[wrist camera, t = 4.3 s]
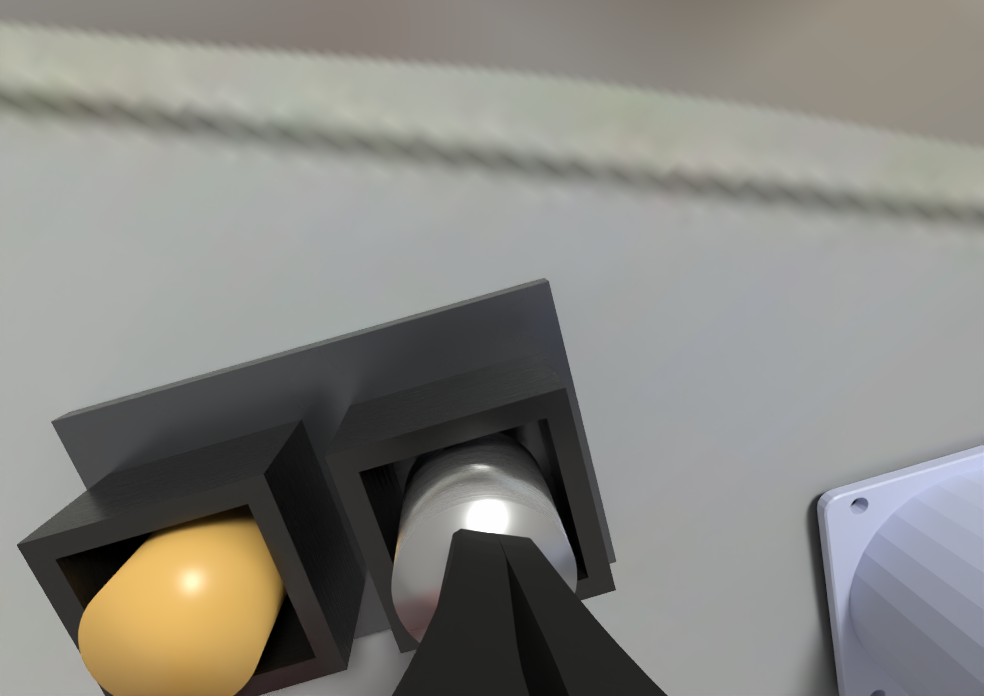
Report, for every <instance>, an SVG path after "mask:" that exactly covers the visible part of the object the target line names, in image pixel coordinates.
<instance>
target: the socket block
mask: <svg viewBox="0 0 984 696" xmlns="http://www.w3.org/2000/svg"><path fill="white" fill-rule="evenodd" d="M52 424H53V426H54V428H55V430H56V432H57V434H58V436H59V437H60V439H61V441H62V443H63V445H64V447H65V449H66V451H67V453H68V455H69V456H70V458H71V460H72V462H73V464H74V466H75V468H76V470H77V472H78V473H79V475H80V477H81V479H82V481H83V483H84V485H85V487H86V489H87V491H86V492H84V493H83V494H82V495H80V496H79V497H78V498H77V499H75V500H74V501H73V502H71V503H70V504H69V505H67V506H66V507H65V508H64V509H62V510H61V511H60V512H58V513H57V514H56V515H55V516H53V517H52V518H51V519H49V520H48V521H47V522H46V523H44V524H43V525H42V526H40V527H39V528H38V529H37V530H35V531H34V532H33V533H31V534H30V535H29V536H28V537H26V538H25V539H24V540H22V541H21V542H20V543H18V544H17V546H18V548H19V550H20V551H21V553H22V555H23V556H24V558H25V560H26V562H27V563H28V565H29V567H30V568H31V570H32V572H33V573H34V575H35V577H36V579H37V580H38V582H39V584H40V585H41V587H42V589H43V591H44V592H45V594H46V596H47V597H48V599H49V601H50V602H51V604H52V606H53V608H54V609H55V611H56V613H57V614H58V616H59V618H60V619H61V621H62V623H63V625H64V626H65V628H66V630H67V631H68V633H69V635H70V637H71V638H72V640H73V642H74V643H75V645H76V647H77V648H78V650H79V643H78V631H79V626H80V621H81V618H82V616H83V613H84V611H85V609H86V608H87V606H88V604H89V603H90V602H91V600H92V599H93V598H94V597H95V596H96V594H97V593H98V592H99V591H100V590H101V589H102V588H103V587H104V586H105V585H106V584H107V582H108V581H109V580H110V579H111V578H112V577H113V576H114V575H115V574H116V573H117V571H118V570H119V569H120V568H121V567H122V566H123V565H124V564H125V563H126V562H127V560H128V559H129V558H130V557H131V556H132V555H133V554H134V553H135V552H136V551H137V550H138V548H139V547H140V546H141V545H142V544H143V543H144V542H145V541H146V540H147V539H148V537H149V536H150V535H151V534H152V533H153V532H154V531H155V530H159V529H162V528H166V527H169V526H173V525H176V524H180V523H183V522H187V521H190V520H194V519H197V518H201V517H204V516H208V515H211V514H215V513H218V512H221V511H225V510H228V509H232V508H235V507H239V506H242V505H246V504H248V505H249V507H250V509H251V512H252V514H253V516H254V519H255V521H256V523H257V525H258V528H259V530H260V532H261V534H262V537H263V539H264V541H265V543H266V546H267V548H268V550H269V552H270V555H271V557H272V559H273V561H274V564H275V566H276V568H277V571H278V573H279V575H280V577H281V580H282V582H283V584H284V586H285V589H286V591H287V594H286V596H285V599H284V601H283V604H282V606H281V609H280V611H279V613H278V616H277V618H276V621H275V623H274V626H273V628H272V630H271V633H270V635H269V638H268V640H267V642H266V645H265V647H264V650H263V652H262V655H261V657H260V659H259V662H258V664H257V667H256V669H255V671H254V673H253V675H252V676H251V678H250V679H249V681H248V682H247V683H246V684H245V685H244V687H243V688H242V689H241V690H239V691H238V692H237V693H236V694H235V695H233V696H258V695H262V694H265V693H269V692H272V691H275V690H279V689H282V688H286V687H289V686H292V685H296V684H299V683H303V682H306V681H309V680H313V679H316V678H319V677H323V676H326V675H330V674H333V673H336V672H340V671H343V670H347V666H348V662H349V657H350V652H351V647H352V643H353V639H355V638H358V637H362V636H365V635H369V634H372V633H375V632H379V631H382V630H386V629H389V628H391V629H392V631H393V634H394V637H395V639H396V642H397V644H398V647H399V649H400V652H401V653H404V652H408V651H411V650H414V649H418V647H419V645H420V643H419V642H418V641H417V640H416V639H415V638H413V636H412V635H411V634H410V633H409V632H408V631H407V630H406V628H405V627H404V625H403V624H402V622H401V621H400V619H399V617H398V615H397V613H396V610H395V607H394V603H393V599H392V591H391V586H392V574H393V567H394V560H395V553H396V545H397V538H398V531H399V524H400V517H401V510H402V503H403V496H404V489H405V483H406V480H407V477H408V474H409V472H410V469H411V467H412V466H413V464H414V463H415V461H416V460H417V458H418V457H419V456H420V455H421V454H423V453H426V452H430V451H433V450H437V449H440V448H444V447H447V446H451V445H454V444H458V443H461V442H465V441H468V440H472V439H475V438H479V437H482V436H486V435H489V434H492V433H496V432H498V433H502V434H504V435H507V436H509V437H511V438H513V439H515V440H516V441H518V442H519V443H521V444H522V445H523V446H525V447H526V448H527V449H528V450H529V451H530V452H531V453H532V455H533V456H534V458H535V459H536V460H537V462H538V464H539V466H540V468H541V470H542V473H543V476H544V478H545V481H546V484H547V486H548V489H549V491H550V494H551V497H552V499H553V502H554V504H555V507H556V510H557V512H558V515H559V517H560V520H561V523H562V525H563V528H564V530H565V533H566V536H567V538H568V541H569V544H570V546H571V549H572V552H573V554H574V557H575V562H576V567H577V585H576V591H575V595H576V596H577V597H578V598H579V599H580V600H584V599H587V598H591V597H594V596H597V595H601V594H604V593H608V592H611V591H614V590H616V589H615V585H614V581H613V577H612V573H611V569H610V565H609V564H610V563H614V562H616V558H615V554H614V550H613V546H612V542H611V538H610V534H609V529H608V525H607V521H606V517H605V513H604V509H603V504H602V500H601V496H600V492H599V488H598V484H597V480H596V475H595V471H594V467H593V463H592V459H591V455H590V451H589V446H588V442H587V438H586V434H585V430H584V426H583V422H582V417H581V413H580V409H579V405H578V401H577V397H576V392H575V388H574V384H573V380H572V376H571V372H570V368H569V363H568V359H567V355H566V351H565V347H564V343H563V339H562V334H561V330H560V326H559V322H558V318H557V314H556V310H555V305H554V301H553V297H552V293H551V289H550V285H549V281H548V280H546V279H544V278H543V279H539V280H536V281H532V282H529V283H525V284H522V285H518V286H515V287H511V288H508V289H504V290H500V291H497V292H493V293H490V294H486V295H483V296H479V297H476V298H472V299H469V300H465V301H461V302H458V303H454V304H451V305H447V306H444V307H440V308H437V309H433V310H430V311H426V312H423V313H419V314H415V315H412V316H408V317H405V318H401V319H398V320H394V321H391V322H387V323H384V324H380V325H377V326H373V327H369V328H366V329H362V330H359V331H355V332H352V333H348V334H345V335H341V336H338V337H334V338H331V339H327V340H323V341H320V342H316V343H313V344H309V345H306V346H302V347H299V348H295V349H292V350H288V351H284V352H281V353H277V354H274V355H270V356H267V357H263V358H260V359H256V360H253V361H249V362H246V363H242V364H238V365H235V366H231V367H228V368H224V369H221V370H217V371H214V372H210V373H207V374H203V375H200V376H196V377H192V378H189V379H185V380H182V381H178V382H175V383H171V384H168V385H164V386H161V387H157V388H154V389H150V390H146V391H143V392H139V393H136V394H132V395H129V396H125V397H122V398H118V399H115V400H111V401H107V402H104V403H100V404H97V405H93V406H90V407H86V408H83V409H79V410H76V411H72V412H69V413H67V414H65V415H63V416H61V417H59V418H57V419H55V420H54V421H52ZM79 652H80V650H79ZM80 654H81V653H80ZM97 683H98V682H97ZM98 684H99V683H98ZM99 686H100V688H101V689H102V691H103V693H104V694H105V696H113V695H112V694H110V693H109V692H108V691H106V690H105V689H104V688H103V687H102V686H101V685H100V684H99Z"/></svg>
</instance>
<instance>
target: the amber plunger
mask: <svg viewBox="0 0 984 696" xmlns="http://www.w3.org/2000/svg"><path fill="white" fill-rule="evenodd" d="M286 594H287V591H286V589H285V586H284V584H283V582H282V580H281V577H280V575H279V573H278V571H277V568H276V566H275V564H274V561H273V559H272V557H271V555H270V552H269V550H268V548H267V546H266V543H265V541H264V539H263V537H262V534H261V532H260V530H259V528H258V525H257V523H256V521H255V519H254V516H253V514H252V512H251V509H250V507H249V505H248V504H246V505H242V506H239V507H235V508H232V509H228V510H225V511H221V512H218V513H215V514H211V515H208V516H204V517H201V518H197V519H194V520H190V521H187V522H183V523H180V524H176V525H173V526H169V527H166V528H162V529H159V530H155V531H154V532H153V533H152V534H151V535H150V536H149V537H148V539H147V540H146V541H145V542H144V543H143V544H142V545H141V546H140V547H139V548H138V550H137V551H136V552H135V553H134V554H133V555H132V556H131V557H130V558H129V559H128V560H127V562H126V563H125V564H124V565H123V566H122V567H121V568H120V569H119V570H118V571H117V573H116V574H115V575H114V576H113V577H112V578H111V579H110V580H109V581H108V582H107V584H106V585H105V586H104V587H103V588H102V589H101V590H100V591H99V592H98V593H97V594H96V596H95V597H94V598H93V599H92V600H91V602H90V603H89V604H88V606H87V608H86V609H85V611H84V613H83V616H82V618H81V621H80V626H79V631H78V643H79V650H80V653H81V656H82V659H83V662H84V664H85V666H86V668H87V669H88V671H89V672H90V674H91V675H92V677H93V678H94V679H95V680H96V681H97V682H98V683H99V684H100V685H101V686H102V687H103V688H104V689H105V690H106V691H108V692H109V693H110V694H112V695H113V696H233V695H235V694H236V693H237V692H238V691H239V690H241V689H242V688H243V687H244V685H245V684H246V683H247V682H248V681H249V679H250V678H251V676H252V675H253V673H254V671H255V669H256V667H257V664H258V662H259V659H260V657H261V655H262V652H263V650H264V647H265V645H266V642H267V640H268V638H269V635H270V633H271V630H272V628H273V626H274V623H275V621H276V618H277V616H278V613H279V611H280V609H281V606H282V604H283V601H284V599H285V596H286Z"/></svg>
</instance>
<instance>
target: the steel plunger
mask: <svg viewBox="0 0 984 696" xmlns="http://www.w3.org/2000/svg"><path fill="white" fill-rule="evenodd" d="M459 529H468V530H476V531H483V532H491V533H495V534H496V533H498V534H505V535H513V536H520V537H528V538H531V539H532V541H533V542H534V543H535V544H536V545H537V547H538V548H539V549H540V550H541V552H542V553H543V554H544V555H545V557H546V558H547V559H548V560H549V562H550V563H551V564H552V566H553V567H554V568H555V569H556V571H557V572H558V573H559V574H560V576H561V577H562V578H563V580H564V581H565V582H566V583H567V585H568V586H569V587H570V588H571V590H572V591H573V592H574V593H575V591H576V585H577V567H576V562H575V557H574V554H573V552H572V549H571V546H570V544H569V541H568V538H567V536H566V533H565V530H564V528H563V525H562V523H561V520H560V517H559V515H558V512H557V510H556V507H555V504H554V502H553V499H552V497H551V494H550V491H549V489H548V486H547V484H546V481H545V478H544V476H543V473H542V470H541V468H540V466H539V464H538V462H537V460H536V459H535V458H534V456H533V455H532V453H531V452H530V451H529V450H528V449H527V448H526V447H525V446H523V445H522V444H521V443H519V442H518V441H516V440H515V439H513V438H511V437H509V436H507V435H504V434H502V433H498V432H496V433H492V434H489V435H486V436H482V437H479V438H475V439H472V440H468V441H465V442H461V443H458V444H454V445H451V446H447V447H444V448H440V449H437V450H433V451H430V452H426V453H423V454H421V455H420V456H419V457H418V458H417V460H416V461H415V463H414V464H413V466H412V467H411V469H410V472H409V474H408V477H407V480H406V483H405V489H404V496H403V503H402V510H401V517H400V524H399V531H398V538H397V545H396V553H395V560H394V567H393V574H392V586H391V591H392V599H393V603H394V607H395V610H396V613H397V615H398V617H399V619H400V621H401V622H402V624H403V625H404V627H405V628H406V630H407V631H408V632H409V633H410V634H411V635H412V636H413V638H415V639H416V640H417V641H418V642H419V643H421V640H422V638H423V636H424V634H425V632H426V630H427V627H428V625H429V623H430V621H431V619H432V617H433V615H434V612H435V610H436V607H437V605H438V600H439V595H440V591H441V586H442V581H443V577H444V572H445V568H446V563H447V558H448V554H449V549H450V544H451V540H452V535H453V533H454V532H456V531H458V530H459Z"/></svg>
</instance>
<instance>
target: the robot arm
mask: <svg viewBox="0 0 984 696" xmlns="http://www.w3.org/2000/svg"><path fill="white" fill-rule="evenodd" d="M855 499H857V501H856V502H855V504H854V505H852V506H851V504H852V502H853V501H854V500H855ZM817 513H818V522H819V530H820V539H821V547H822V555H823V564H824V572H825V580H826V589H827V597H828V605H829V614H830V622H831V630H832V639H833V647H834V656H835V664H836V672H837V681H838V689H839V696H984V445H981V446H978V447H974V448H971V449H968V450H964V451H961V452H957V453H954V454H951V455H947V456H944V457H940V458H937V459H934V460H930V461H927V462H923V463H920V464H917V465H913V466H910V467H906V468H903V469H899V470H896V471H893V472H889V473H886V474H882V475H879V476H876V477H872V478H869V479H865V480H862V481H859V482H855V483H852V484H848V485H845V486H842V487H838V488H835V489H832V490H830V491H827V492H826V493H824V494H823V495H822V496H821V498H820V499H819V501H818V504H817ZM392 696H667V695H666V694H665V693H664V692H663V691H662V690H661V689H660V688H659V687H658V686H657V685H656V684H655V683H654V682H653V681H652V680H651V679H650V678H649V677H648V676H647V675H646V674H645V672H644V671H643V670H642V669H641V668H640V667H639V666H638V665H637V664H636V663H635V662H634V661H633V660H632V659H631V658H630V656H629V655H628V654H627V653H626V652H625V651H624V650H623V649H622V648H621V647H620V646H619V645H618V644H617V643H616V641H615V640H614V639H613V638H612V637H611V636H610V635H609V634H608V632H607V631H606V630H605V629H604V628H603V627H602V626H601V624H600V623H599V622H598V621H597V620H596V619H595V617H594V616H593V615H592V614H591V613H590V611H589V610H588V609H587V608H586V607H585V605H584V604H583V603H582V602H581V601H580V599H579V598H578V597H577V596H576V595H575V593H574V592H573V591H572V590H571V588H570V587H569V586H568V585H567V583H566V582H565V581H564V580H563V578H562V577H561V576H560V574H559V573H558V572H557V571H556V569H555V568H554V567H553V566H552V564H551V563H550V562H549V560H548V559H547V558H546V557H545V555H544V554H543V553H542V552H541V550H540V549H539V548H538V547H537V545H536V544H535V543H534V542H533V541H532V539H531V538H528V537H520V536H513V535H505V534H498V533H496V534H495V533H491V532H483V531H476V530H468V529H459V530H458V531H456V532H454V533H453V535H452V540H451V544H450V549H449V554H448V558H447V563H446V568H445V572H444V577H443V581H442V586H441V591H440V595H439V600H438V605H437V607H436V610H435V612H434V615H433V617H432V619H431V621H430V623H429V625H428V627H427V630H426V632H425V634H424V636H423V638H422V640H421V643H420V645H419V647H418V649H417V651H416V653H415V655H414V657H413V659H412V661H411V663H410V664H409V666H408V668H407V670H406V672H405V674H404V676H403V677H402V679H401V681H400V683H399V684H398V686H397V688H396V690H395V691H394V693H393V695H392Z"/></svg>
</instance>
